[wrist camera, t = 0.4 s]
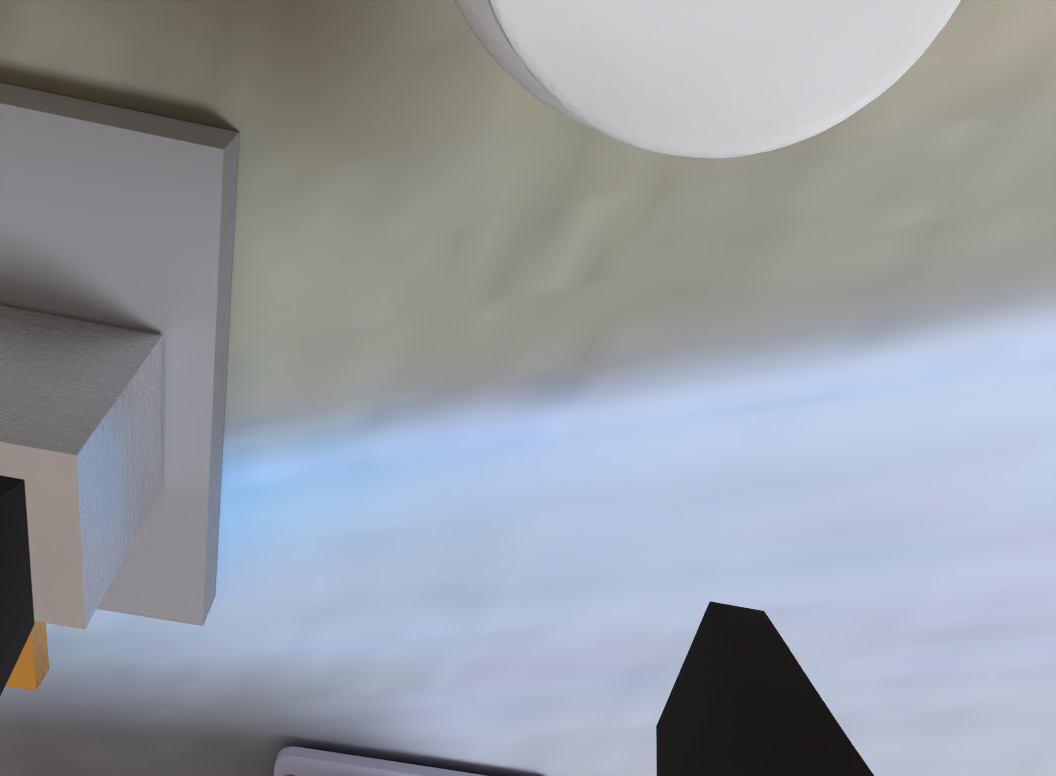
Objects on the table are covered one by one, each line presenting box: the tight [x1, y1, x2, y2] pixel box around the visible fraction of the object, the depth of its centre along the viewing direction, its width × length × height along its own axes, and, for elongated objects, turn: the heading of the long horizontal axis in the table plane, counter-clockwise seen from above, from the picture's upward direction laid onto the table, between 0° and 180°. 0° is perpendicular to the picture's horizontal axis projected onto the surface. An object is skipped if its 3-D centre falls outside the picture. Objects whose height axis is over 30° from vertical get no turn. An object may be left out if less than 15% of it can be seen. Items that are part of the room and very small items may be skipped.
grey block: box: [0, 305, 162, 691], centre depth 19 cm, size 8×4×4 cm, turn 168°
